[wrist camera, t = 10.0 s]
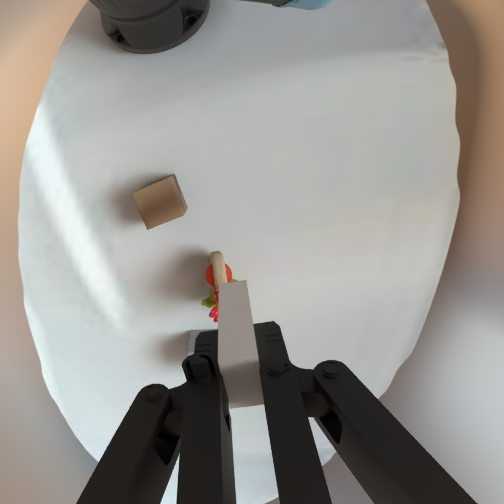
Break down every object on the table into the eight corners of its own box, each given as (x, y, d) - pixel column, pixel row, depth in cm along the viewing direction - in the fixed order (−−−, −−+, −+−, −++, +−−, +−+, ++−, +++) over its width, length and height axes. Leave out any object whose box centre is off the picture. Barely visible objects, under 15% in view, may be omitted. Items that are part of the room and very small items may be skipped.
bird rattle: (195, 258, 47) (205, 317, 47) (180, 252, 36) (193, 329, 36) (236, 251, 48) (246, 311, 47) (234, 243, 37) (247, 321, 36)
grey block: (190, 329, 49) (187, 352, 44) (221, 328, 50) (222, 351, 44) (194, 354, 51) (191, 377, 45) (223, 353, 51) (224, 376, 46)
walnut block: (141, 187, 41) (132, 193, 37) (174, 174, 41) (168, 177, 36) (155, 220, 43) (147, 229, 38) (187, 207, 43) (183, 215, 38)
